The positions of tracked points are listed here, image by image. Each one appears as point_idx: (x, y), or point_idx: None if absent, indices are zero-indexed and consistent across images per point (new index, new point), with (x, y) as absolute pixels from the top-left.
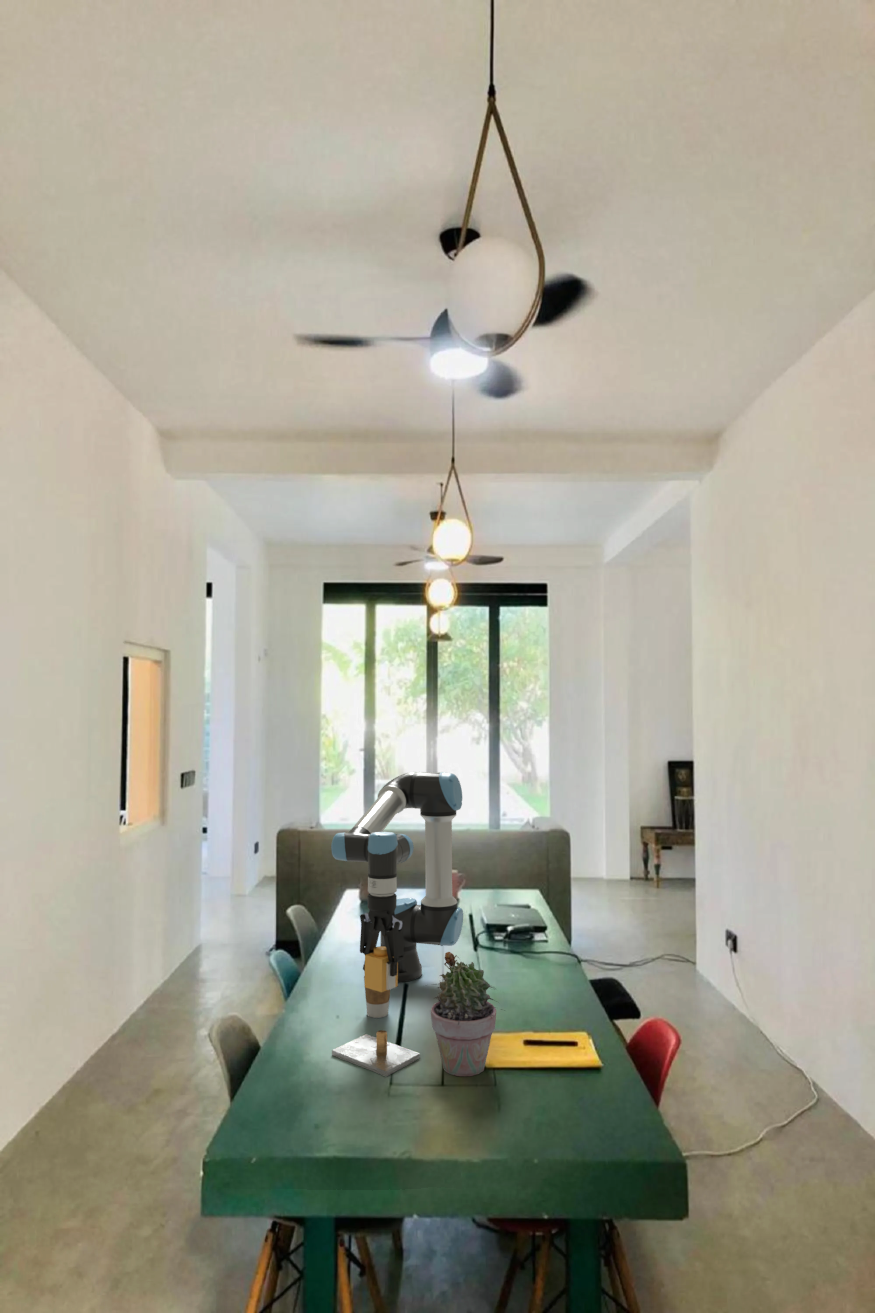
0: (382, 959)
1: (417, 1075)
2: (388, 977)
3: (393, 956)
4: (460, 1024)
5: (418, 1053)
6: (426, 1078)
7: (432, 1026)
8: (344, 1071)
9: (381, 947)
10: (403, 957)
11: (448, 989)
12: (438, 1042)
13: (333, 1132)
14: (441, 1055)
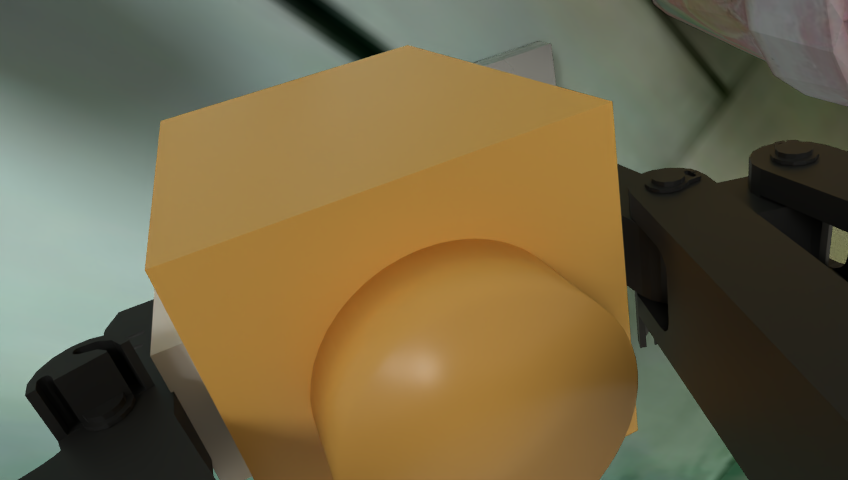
0: (635, 422)
1: (627, 134)
2: None
3: (654, 238)
4: None
5: (549, 50)
6: (663, 117)
7: (792, 83)
8: None
9: (440, 425)
10: (832, 155)
11: None
12: (755, 55)
13: (672, 450)
14: (718, 38)
